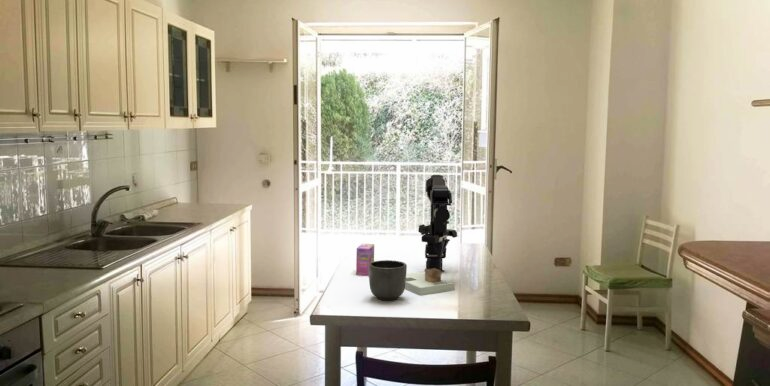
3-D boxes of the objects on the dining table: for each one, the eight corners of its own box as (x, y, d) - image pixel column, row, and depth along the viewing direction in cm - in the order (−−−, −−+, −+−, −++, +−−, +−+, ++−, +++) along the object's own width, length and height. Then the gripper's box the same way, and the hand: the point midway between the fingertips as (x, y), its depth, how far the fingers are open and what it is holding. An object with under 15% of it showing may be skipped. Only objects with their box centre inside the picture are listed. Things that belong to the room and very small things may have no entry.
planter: (379, 305, 217) (379, 270, 216) (362, 296, 229) (362, 262, 228) (413, 301, 223) (413, 266, 222) (395, 291, 236) (395, 258, 234)
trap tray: (419, 276, 261) (419, 269, 260) (454, 290, 239) (454, 283, 239) (386, 280, 253) (386, 274, 252) (420, 295, 231) (420, 288, 231)
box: (369, 275, 261) (369, 248, 260) (356, 275, 262) (356, 247, 261) (374, 270, 271) (374, 244, 270) (361, 269, 273) (361, 243, 271)
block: (434, 279, 248) (434, 268, 247) (440, 281, 244) (440, 270, 243) (424, 280, 246) (425, 269, 245) (431, 282, 242) (431, 271, 241)
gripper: (434, 214, 258) (434, 250, 260) (410, 219, 243) (409, 258, 245) (458, 216, 252) (457, 254, 253) (434, 222, 237) (433, 262, 238)
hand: (439, 257), depth 248 cm, fingers closed
